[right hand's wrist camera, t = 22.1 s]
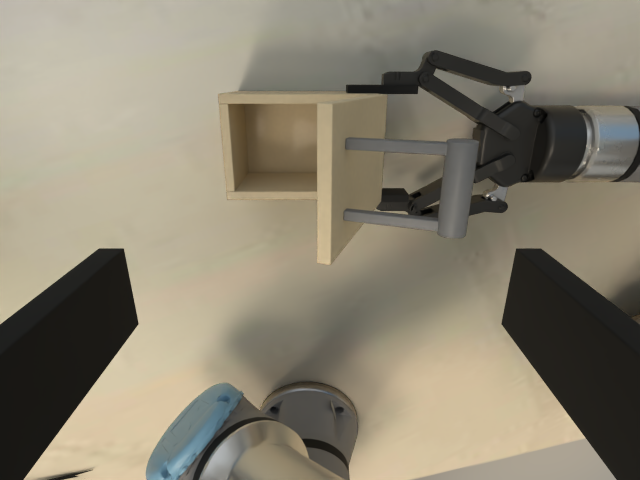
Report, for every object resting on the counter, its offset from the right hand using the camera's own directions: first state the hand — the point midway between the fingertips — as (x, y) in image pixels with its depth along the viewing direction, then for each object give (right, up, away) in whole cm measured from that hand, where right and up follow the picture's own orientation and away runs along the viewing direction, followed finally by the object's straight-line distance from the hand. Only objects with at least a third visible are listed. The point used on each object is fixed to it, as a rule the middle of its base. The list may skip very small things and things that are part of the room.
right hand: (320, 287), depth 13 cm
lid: (+2, +7, +18) cm, 19 cm away
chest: (-2, +13, +34) cm, 36 cm away
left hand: (+3, +11, +28) cm, 30 cm away
